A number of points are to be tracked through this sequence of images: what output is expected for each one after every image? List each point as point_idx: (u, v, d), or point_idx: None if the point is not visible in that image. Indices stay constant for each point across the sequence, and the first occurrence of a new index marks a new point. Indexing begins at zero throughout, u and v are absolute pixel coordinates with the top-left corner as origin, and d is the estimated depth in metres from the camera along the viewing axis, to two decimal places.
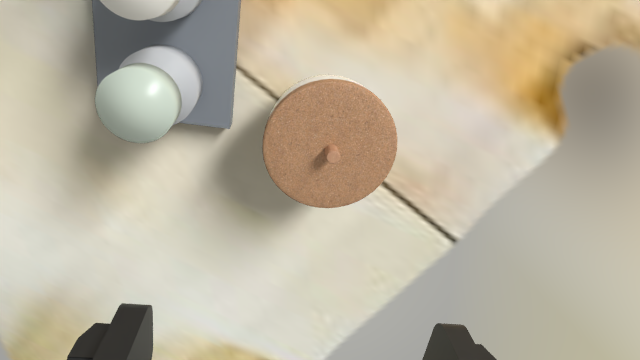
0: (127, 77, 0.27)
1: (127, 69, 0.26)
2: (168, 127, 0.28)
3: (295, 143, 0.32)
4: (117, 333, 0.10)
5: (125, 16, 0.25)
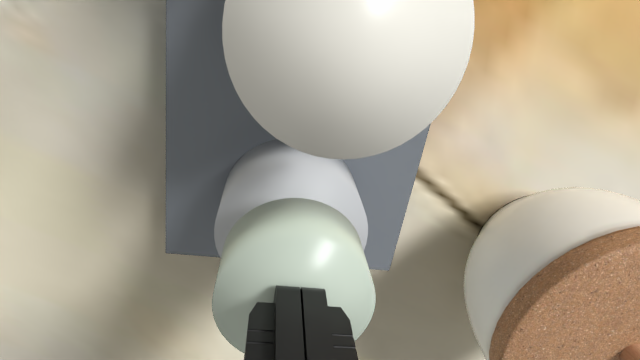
0: (289, 252, 0.12)
1: (290, 236, 0.12)
2: (355, 336, 0.13)
3: (570, 345, 0.16)
4: (285, 309, 0.11)
5: (312, 150, 0.09)
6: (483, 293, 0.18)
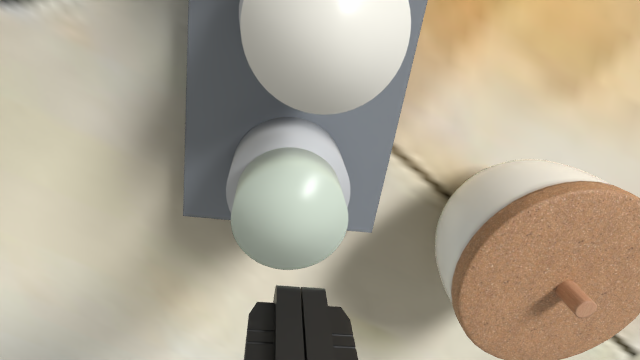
0: (285, 179, 0.17)
1: (287, 167, 0.17)
2: (334, 247, 0.18)
3: (514, 281, 0.20)
4: (285, 309, 0.11)
5: (301, 108, 0.13)
6: (447, 245, 0.22)
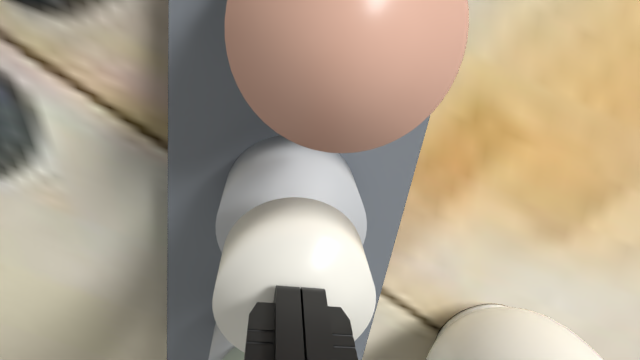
0: None
1: None
2: None
3: None
4: (285, 309, 0.11)
5: None
6: None
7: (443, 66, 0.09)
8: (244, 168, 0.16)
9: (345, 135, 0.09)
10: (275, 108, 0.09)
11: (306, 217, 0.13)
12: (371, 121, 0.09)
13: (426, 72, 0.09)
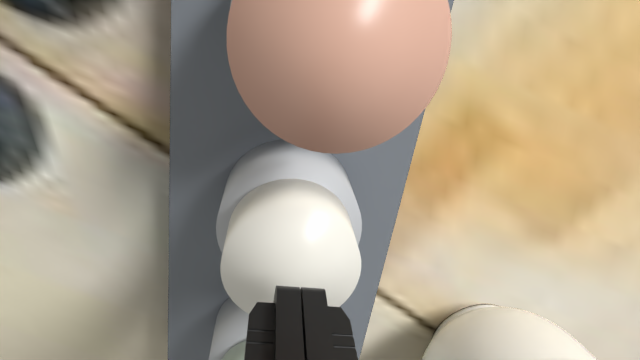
0: None
1: None
2: None
3: None
4: (285, 309, 0.11)
5: None
6: None
7: (429, 72, 0.10)
8: (243, 171, 0.17)
9: (339, 136, 0.10)
10: (273, 111, 0.10)
11: (301, 194, 0.15)
12: (363, 123, 0.10)
13: (413, 78, 0.10)
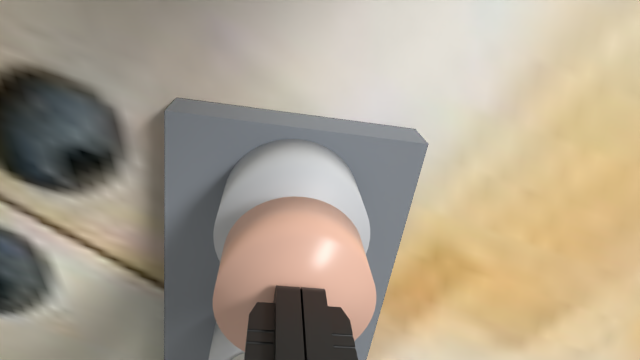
0: None
1: None
2: None
3: None
4: (285, 309, 0.11)
5: None
6: None
7: (361, 315, 0.13)
8: None
9: None
10: None
11: None
12: None
13: (350, 318, 0.13)
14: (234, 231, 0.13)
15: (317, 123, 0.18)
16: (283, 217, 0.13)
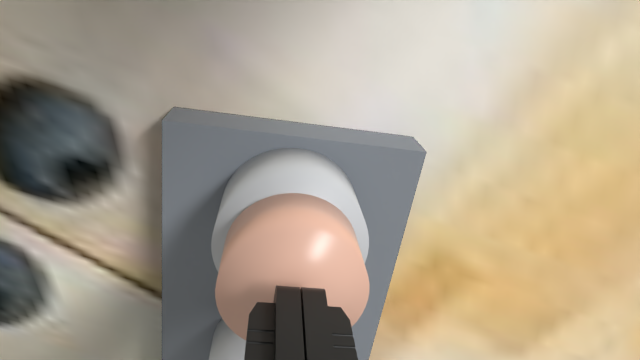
0: None
1: None
2: None
3: None
4: (285, 309, 0.11)
5: None
6: None
7: (355, 304, 0.14)
8: (227, 343, 0.19)
9: None
10: None
11: None
12: None
13: (345, 307, 0.14)
14: (235, 226, 0.14)
15: (314, 132, 0.18)
16: (281, 211, 0.13)
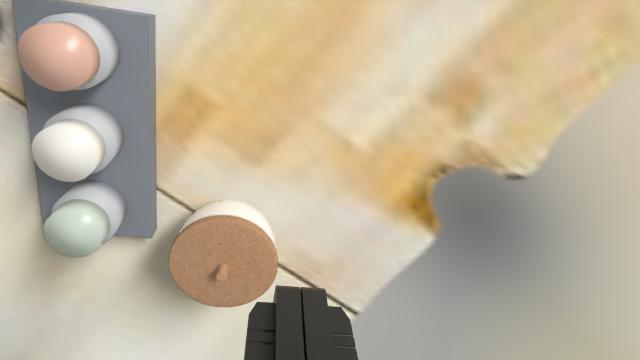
0: (65, 216, 0.37)
1: (65, 211, 0.37)
2: (97, 246, 0.39)
3: (193, 263, 0.40)
4: (285, 309, 0.11)
5: (61, 179, 0.36)
6: None
7: (83, 65, 0.32)
8: None
9: (60, 85, 0.33)
10: (37, 77, 0.32)
11: (67, 123, 0.35)
12: (67, 81, 0.32)
13: (78, 67, 0.32)
14: None
15: (93, 7, 0.36)
16: None
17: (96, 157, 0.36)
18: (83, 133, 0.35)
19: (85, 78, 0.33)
